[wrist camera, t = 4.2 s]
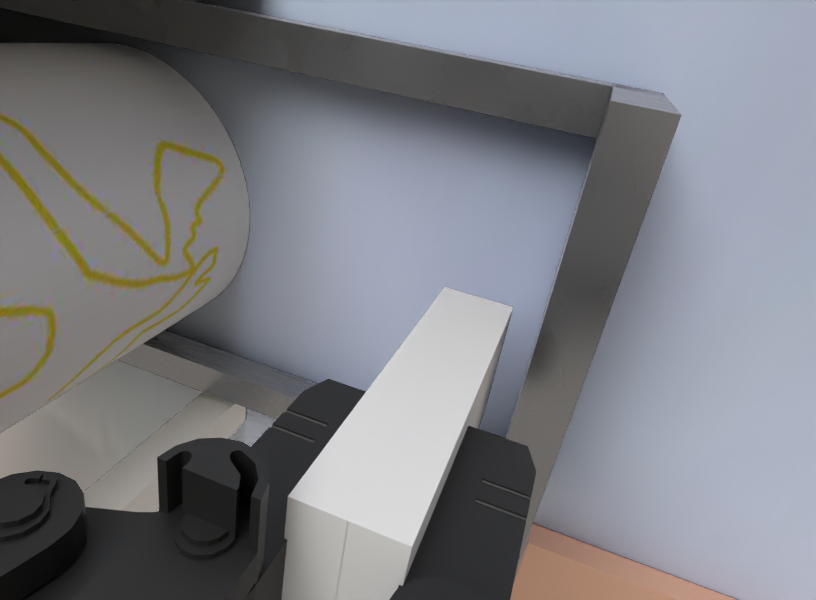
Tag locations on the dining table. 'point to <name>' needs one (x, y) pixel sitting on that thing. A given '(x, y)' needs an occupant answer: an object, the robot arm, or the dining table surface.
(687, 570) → the dining table surface
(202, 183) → the cup
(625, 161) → the frame
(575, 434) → the dining table surface
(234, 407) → the shelf
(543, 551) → the coaster
